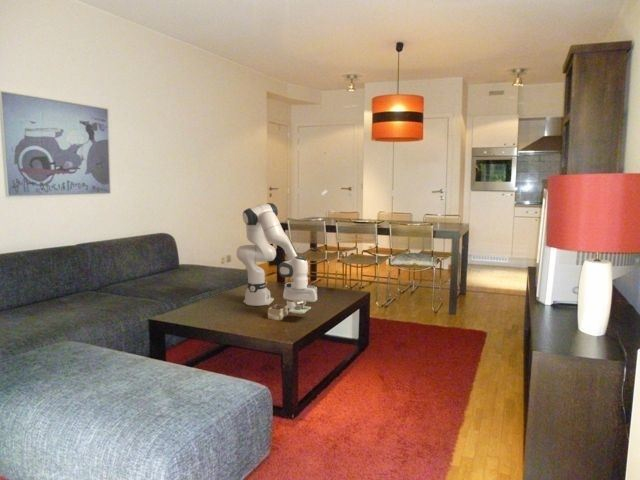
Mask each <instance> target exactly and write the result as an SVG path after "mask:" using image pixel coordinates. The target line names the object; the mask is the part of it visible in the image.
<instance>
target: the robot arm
mask: <svg viewBox="0 0 640 480" xmlns="http://www.w3.org/2000/svg"><path fill="white" fill-rule="evenodd" d="M278 213H279V210H278V208H277V205H275V204H274V203H272V202H268V203H262V204H258V205H255V206H253V207H250V208H249V207H248V208H246V209H244V210H243V212H242V220H243V222H244V223H245V225H246V227H245V230H246V239H247V240H248V241H249V242H250V243H252V244H244V245H243V244H242V245H239V246H238V247H237V250H236V258H237V259H238V260H239V261H240V262H241V263H242V264H243V265H244V266H245V268H246V271H247V283H246V288H247V289H246V290H245V295H244V296H245V297H244V300H243V303H244V304H246V305H248V306H255V307H256V306H257V307H258V306H266V305H267V306H269V305H270V304H272V303H273V301H274V299H275V298H274V297H271V291H270V290H269V289H268V288H267V285H268V281H267V280H266V273H265V270H264V269H263V268H262V267H260V266H259V265H257V263H259V262H260V263H261V262H262V263H263V262H264V263H266V262H273V261H274V260H275V258H276V257H277V250H276V248H275V247H274V246H273V245H277V246H279V247H280V248H282V249H283V251H284V252H285V255H286V257H287V259H288V260H285V261H282V262H280V264H279V265H278V269H277V270H278V273H279V275H280V276H281V277H282V278H287V279H288V278H292V281H289V282H286V283H285V284H284V289H283V293H282V298H283V299H284V300H287V299H289V300H294V303H295V305H298V304H297V302H296V301H297V300H299V301H303V303H304V304H303V305H301V308H305V306H306V304H307V302H311V303H315V302H317V301H318V288H317V286H316V285H309V277H308V274H309V262H308V260H307V258H306V257H304V256H300V255H299V254H298V252H297V250H296V249H295V246H294V245H293V243H292V241H291V239H290V238H289V237H288V235H287V234H286V233H285V231H284V229H283V227H282V224H281V223H280V220H279V218H278ZM270 243H271V244H273V245H271V244H270ZM256 262H257V263H256Z"/></svg>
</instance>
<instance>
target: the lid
mask: <svg viewBox="0 0 640 480" xmlns="http://www.w3.org/2000/svg"><path fill="white" fill-rule="evenodd" d="M303 304H304V303H300V304H298V305H296V306H295V307H294V308H292V309H288V313H293V314H300V315H302V314H305V313H306V312H307V311H309V310H311V309H312V307H311V306H306V305H305V308H301V305H303Z"/></svg>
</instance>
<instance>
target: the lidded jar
mask: <svg viewBox="0 0 640 480" xmlns="http://www.w3.org/2000/svg"><path fill="white" fill-rule="evenodd" d="M296 302H297V304H300V303H303V301H299V300H297V301H296ZM286 305H288V310H290V309H292V308H294V307H295V306H296V305H295V303H294V300H289V299H286Z"/></svg>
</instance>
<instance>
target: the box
mask: <svg viewBox="0 0 640 480" xmlns="http://www.w3.org/2000/svg"><path fill="white" fill-rule="evenodd" d="M287 316H289V308H288V305H287V304H286V305H285V304H277V303H276V304H274V305H272V306H271V307H269V308H268V309H267V319H268V320H276V321H281V320H283V319H284V318H286V317H287Z"/></svg>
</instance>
